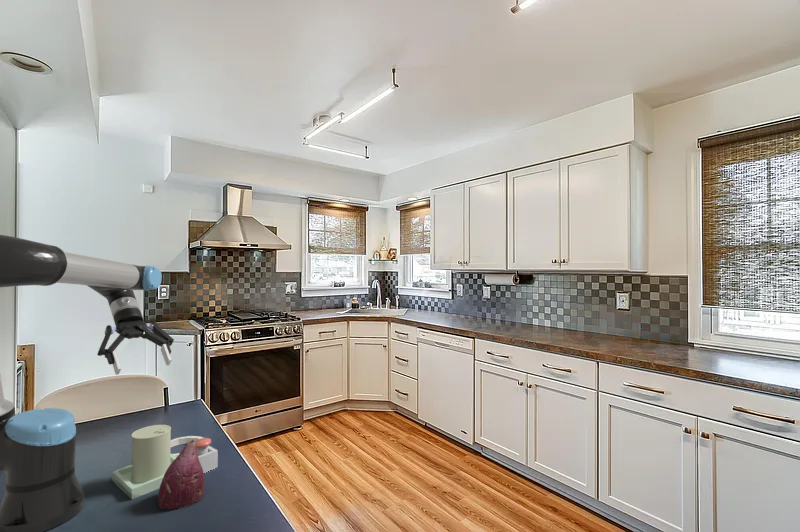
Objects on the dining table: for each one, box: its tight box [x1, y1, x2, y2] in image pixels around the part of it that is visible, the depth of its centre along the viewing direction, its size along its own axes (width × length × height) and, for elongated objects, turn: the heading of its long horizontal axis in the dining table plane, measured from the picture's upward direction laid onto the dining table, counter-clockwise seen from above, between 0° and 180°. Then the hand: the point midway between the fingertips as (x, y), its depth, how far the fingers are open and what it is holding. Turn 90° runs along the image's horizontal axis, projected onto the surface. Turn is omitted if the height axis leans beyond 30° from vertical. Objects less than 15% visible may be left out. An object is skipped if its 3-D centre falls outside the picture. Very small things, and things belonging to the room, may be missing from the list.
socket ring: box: [170, 435, 204, 457], centre depth 121 cm, size 14×14×2 cm
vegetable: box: [157, 439, 206, 510], centre depth 98 cm, size 10×10×15 cm
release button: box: [194, 437, 212, 456], centre depth 110 cm, size 5×5×6 cm
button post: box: [198, 445, 219, 474], centre depth 110 cm, size 6×6×5 cm
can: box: [130, 424, 172, 483], centre depth 105 cm, size 9×9×12 cm
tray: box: [111, 452, 177, 500], centre depth 105 cm, size 14×14×2 cm
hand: (145, 367), depth 118 cm, fingers open, 13 cm apart
